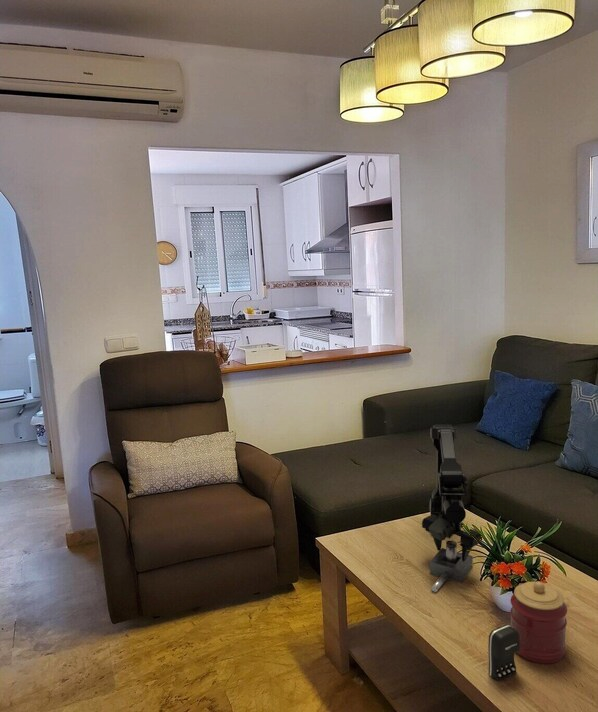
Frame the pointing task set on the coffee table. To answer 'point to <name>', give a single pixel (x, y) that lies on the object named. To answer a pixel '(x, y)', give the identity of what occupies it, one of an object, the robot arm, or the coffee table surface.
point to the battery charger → (503, 651)
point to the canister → (539, 622)
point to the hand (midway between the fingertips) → (451, 555)
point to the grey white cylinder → (451, 551)
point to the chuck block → (449, 568)
